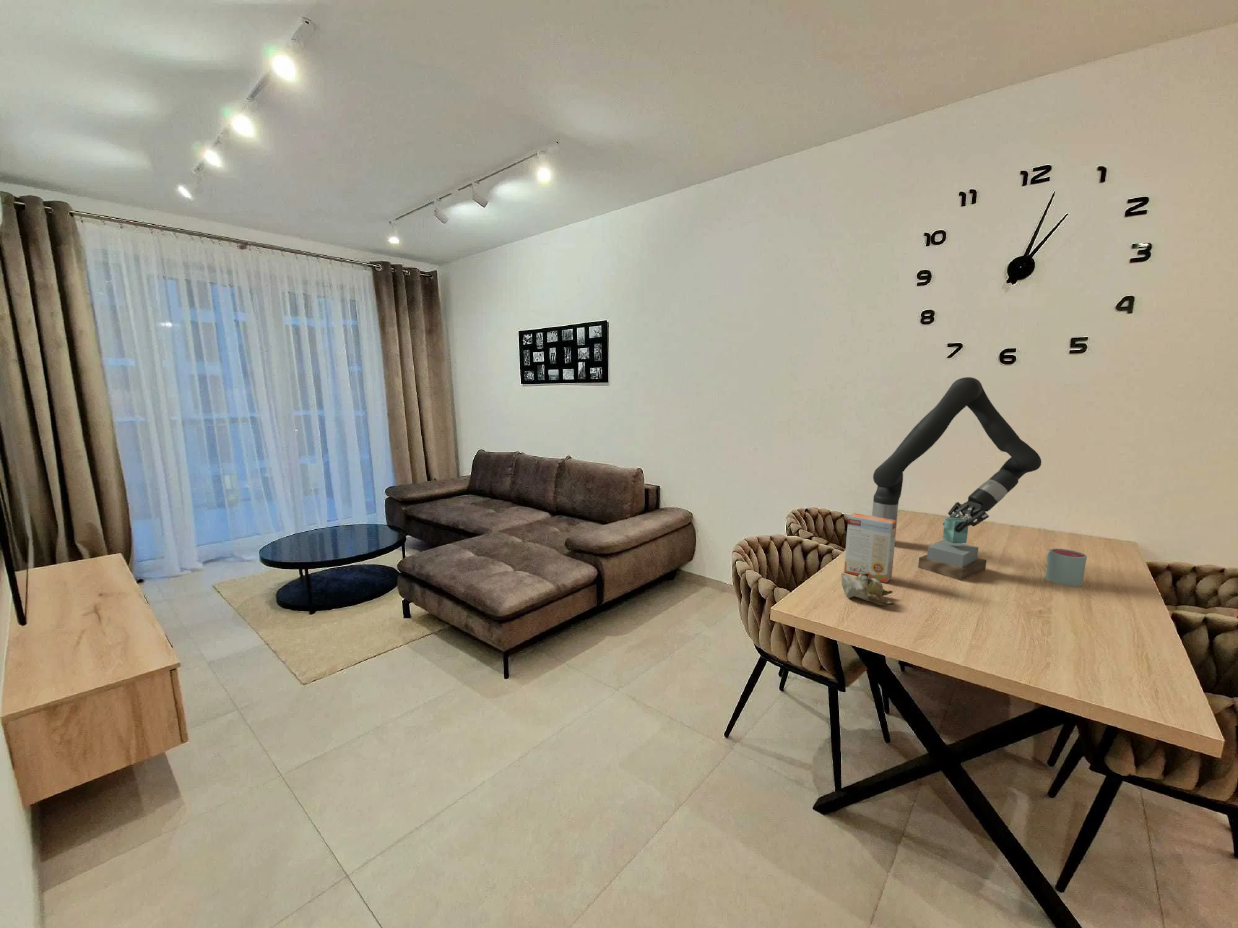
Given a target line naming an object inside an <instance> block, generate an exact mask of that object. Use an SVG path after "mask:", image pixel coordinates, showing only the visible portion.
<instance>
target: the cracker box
mask: <svg viewBox="0 0 1238 928" xmlns="http://www.w3.org/2000/svg"><path fill="white" fill-rule="evenodd" d="M897 525H898V519H897V520H891V519H885V518H880V517H874V516H872V515H867V514H861V513H856V512H854V513H853V514H850V515H848V519H847V530H846V542H845V555H844V565H843V566H844V567H843V573H844V574H846V573H847V574H848V575H849V574H850V575H855V576H856V577H858V576H859V575H860V574H866V573H867V574H868V575H869V577H872V578H876V579H877V580H879V581H880V582H881V583H885V584H886V583H888V582H889V581H890V580H892V578H893V577H892V576H893V569H894V568H893V567H894V566H893V565H894V557H895V546H896V538H897V537H896V536H897Z"/></svg>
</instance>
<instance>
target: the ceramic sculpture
mask: <svg viewBox="0 0 1238 928" xmlns="http://www.w3.org/2000/svg"><path fill="white" fill-rule="evenodd" d="M840 579H841V587H842V589H843V592H844V595H845V596H846V597H847V598H848V599H850V598H853V597H855V598H859V599H861V600H863V601H867V602H869V603H870V602H871V603H874V604H876V605H878V606H894V605H895V602H893V601H891V600H889V599H888V598H887V597H886V596H887V595H890V594H893V592H894V591H892V590H885V589H884V587H883V584H882V582H880V581H879V580H877V579H876V578H872V577H869V575H868V574H867V573H866V574H860V575H859V576H856V577H854V576H852V575H849V574H846V573H844V572H842V573H841V578H840Z"/></svg>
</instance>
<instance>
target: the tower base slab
mask: <svg viewBox="0 0 1238 928" xmlns="http://www.w3.org/2000/svg"><path fill="white" fill-rule="evenodd" d="M917 567H918V569H921V570H925V571H928V572H932V573H934V574H937V575H941V576H944V577H948V578H951V579H954V580H957V581H964V580H966V579H967V580H968V579H969V578H971V577H974V576H976V575H978V574H980V573H982V572H985V571H986V568H987V559H984V558H981V557H977V560H975V561H973V562H972V563H970V564H968V565H966V566H965V567H963V568H960V567H957V566H953V565H949V564H945V563H941V562H937V561H934V560H930V559H927V554H924V555H923V556H920V557H918V564H917Z"/></svg>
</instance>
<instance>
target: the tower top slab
mask: <svg viewBox="0 0 1238 928" xmlns="http://www.w3.org/2000/svg"><path fill="white" fill-rule="evenodd" d="M979 548H980V547H979V546H975V545H969V544H967V543H951V542H948V541H946V540H944V539H942V540H939V541H938V542H935V543H932V544H931V545H928V547H927V553H926V555H927V559H930V560H934V561H937V562H941V563H945V564H949V565H953V566H957V567H960V568H963V567H965V566H966V565H968V564H970V563H972V562H973V561H975V560H977V558H978V556H979V555H978V554H979Z"/></svg>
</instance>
